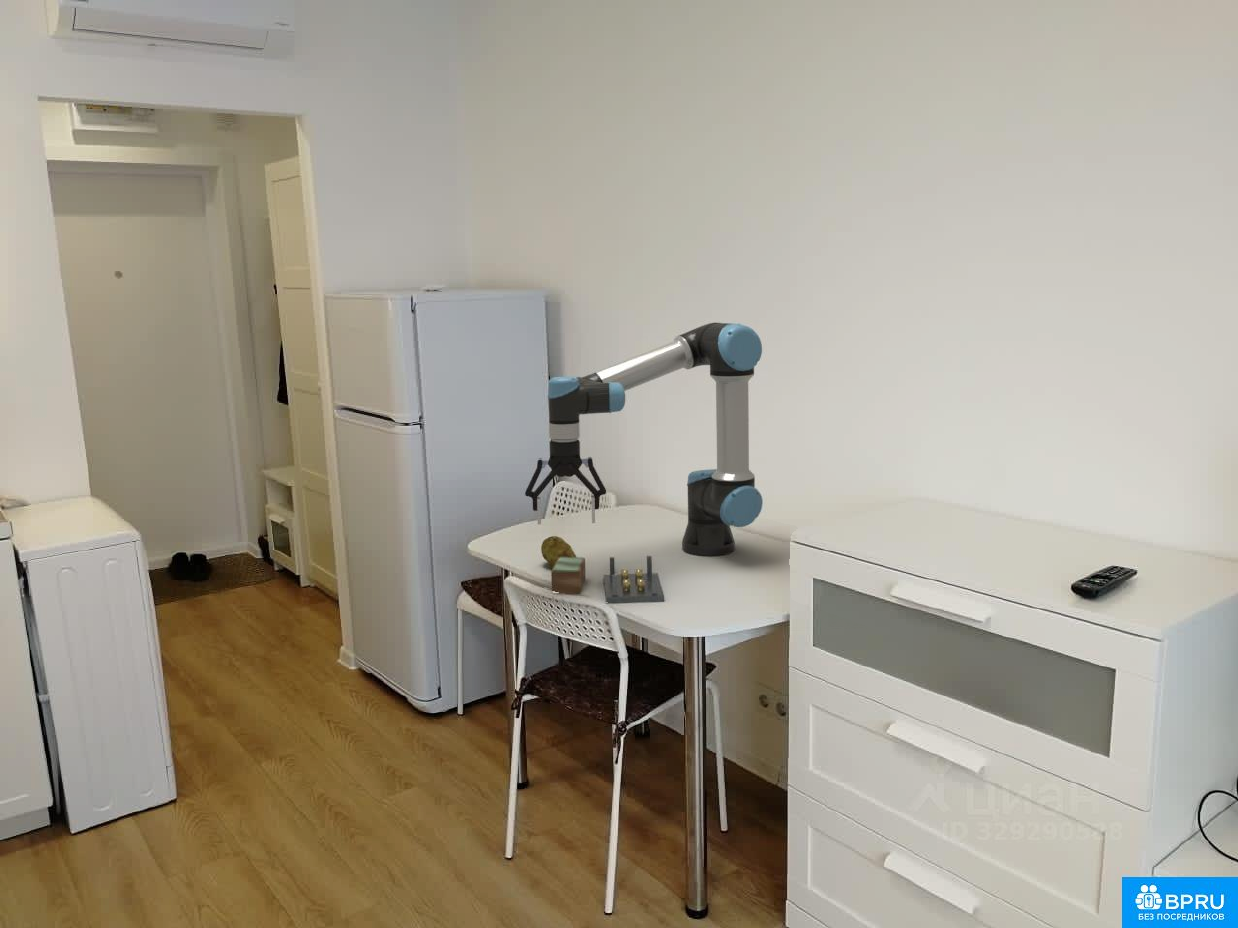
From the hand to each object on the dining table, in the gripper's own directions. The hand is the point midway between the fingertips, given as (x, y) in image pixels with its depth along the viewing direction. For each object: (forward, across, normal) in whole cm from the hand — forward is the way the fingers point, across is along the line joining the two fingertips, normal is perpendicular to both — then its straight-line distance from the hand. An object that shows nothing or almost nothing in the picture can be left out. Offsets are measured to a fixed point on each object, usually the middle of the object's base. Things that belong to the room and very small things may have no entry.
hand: (566, 522), depth 246 cm
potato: (+17, +2, -17) cm, 24 cm away
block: (+17, 0, 0) cm, 17 cm away
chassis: (+17, -16, +5) cm, 24 cm away
